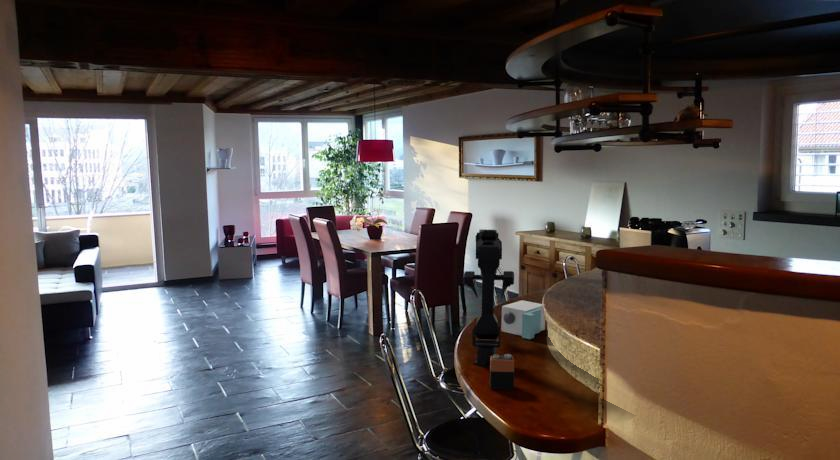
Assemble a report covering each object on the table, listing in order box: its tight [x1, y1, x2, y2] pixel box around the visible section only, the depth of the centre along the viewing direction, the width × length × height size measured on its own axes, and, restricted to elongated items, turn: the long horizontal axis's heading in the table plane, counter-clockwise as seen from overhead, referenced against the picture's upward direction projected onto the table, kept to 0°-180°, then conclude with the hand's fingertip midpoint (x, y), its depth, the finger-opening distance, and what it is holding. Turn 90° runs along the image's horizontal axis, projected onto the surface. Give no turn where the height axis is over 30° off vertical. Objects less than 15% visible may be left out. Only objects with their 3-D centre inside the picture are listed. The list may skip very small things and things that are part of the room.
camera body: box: [500, 299, 546, 337], centre depth 240 cm, size 15×11×10 cm
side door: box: [521, 309, 541, 340], centre depth 232 cm, size 11×4×9 cm, turn 137°
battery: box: [489, 353, 515, 391], centre depth 179 cm, size 4×7×10 cm, turn 87°
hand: (489, 297), depth 231 cm, fingers open, 9 cm apart
